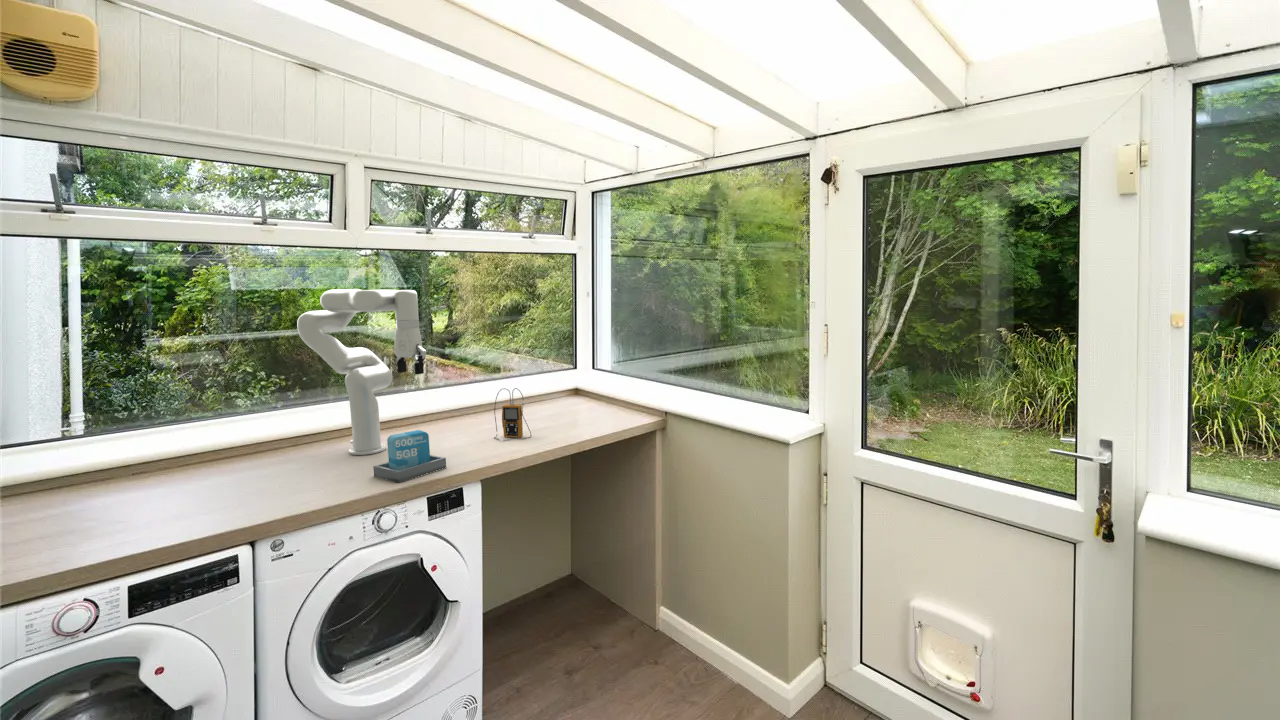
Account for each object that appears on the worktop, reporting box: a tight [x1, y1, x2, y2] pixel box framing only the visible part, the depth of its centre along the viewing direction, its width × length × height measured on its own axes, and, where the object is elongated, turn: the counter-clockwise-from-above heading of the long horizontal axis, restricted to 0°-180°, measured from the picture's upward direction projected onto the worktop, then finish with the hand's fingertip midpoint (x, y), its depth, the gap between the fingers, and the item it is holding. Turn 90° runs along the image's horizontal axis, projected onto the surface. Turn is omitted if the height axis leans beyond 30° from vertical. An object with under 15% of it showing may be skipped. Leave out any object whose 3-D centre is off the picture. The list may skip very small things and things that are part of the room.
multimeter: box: [493, 387, 532, 442], centre depth 235 cm, size 15×10×20 cm
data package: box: [386, 429, 431, 471], centre depth 194 cm, size 12×4×12 cm, turn 134°
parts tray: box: [372, 454, 447, 484], centre depth 194 cm, size 13×18×4 cm
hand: (410, 373), depth 211 cm, fingers open, 9 cm apart
